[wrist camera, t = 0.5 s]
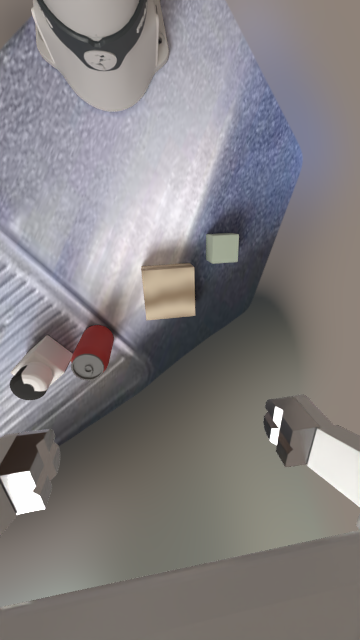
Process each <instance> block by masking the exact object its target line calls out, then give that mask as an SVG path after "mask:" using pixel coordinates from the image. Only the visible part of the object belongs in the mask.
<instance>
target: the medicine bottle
mask: <svg viewBox="0 0 360 640" xmlns="http://www.w3.org/2000/svg"><path fill="white" fill-rule="evenodd" d="M72 355H73V354H72V353H71V352H70V351H68V350H67V349H66V348H64V347H63V346H62V345H60V344H59V343H58V342H56V341H55V340H54V339H52V338H51V337H50V336H48V335H46V336H45V337H44V338H43V339H42V340H41V341H40V342H39V343H37V344H36V345H35V346H34V347H33V348H32V349H31V350H30V351H29V352H28V353H27V354H26V355H25V356H24V357H23V358H22V360H21V361H20V362H19V363H18V364H17V365H16V367H15V368H14V369H13V370H12V371H11V374H12V375H14V377H13V378H12V379H11V381H10V388H11V390H12V392H13V393H14V394H15V395H16V396H17V397H19V398H21V399H24V400H35V399H38V398H41V397H42V396H43V395H44V394H45V393H46V391H47V389H48V387H49V386H50V385H51V384H52V383H53V382H55V381H56V380H57V379H58V378H59V377H60V376H61V375H63V374H64V373H65V371H66V369H67V367H68V365H69V363H70V361H71V358H72Z"/></svg>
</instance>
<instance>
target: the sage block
mask: <svg viewBox="0 0 360 640" xmlns="http://www.w3.org/2000/svg"><path fill="white" fill-rule="evenodd" d="M238 245H239V234H233V233H220V234H206V260H208V261H209V262H211V263H212V264H213V263H227V262H238Z"/></svg>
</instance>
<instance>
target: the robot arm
mask: <svg viewBox="0 0 360 640" xmlns="http://www.w3.org/2000/svg"><path fill="white" fill-rule="evenodd" d="M31 11H32V15H33V18H34V20H35V24H36V43H37V48H38V50H39V52H40V54H41V56H42V57H43V58H44V59H45V60H46V61H47V62H48V63H49V64H50V65H52V66H53V67H54V68H56V69H57V70H59V71H60V73H61V74H62V75H63V76H64V78H65V79H66V81H67V82H68V84H69V85H70V86H71V88H72V89H73V90H74V91H75V93H76V94H77V95H78V96H79V97H80V98H82V99H83V100H84V101H85V102H87V103H88V104H90V105H91V106H93V107H95V108H98V109H100V110H104V111H110V112H116V111H122V110H125V109H128V108H130V107H132V106H133V105H135V104H136V103H137V102H138V101H139V100H140V99H141V98H142V97H143V95H144V94H145V92H146V90H147V89H148V86H149V84H150V82H151V80H152V78H153V76H154V74H155V73H156V72H157V71H158V70H159V69H161V68H162V67H163V66H164V65H165V63H166V62H167V60H168V57H169V49H168V43H167V37H166V32H165V27H164V21H163V16H162V11H161V5H160V0H33V7H32V9H31ZM158 39H159V40H160V41H161V44H158ZM265 408H266V409H267V411H268V412H267V413H266V414H265V416H264V421H263V423H264V429H265V432H266V435H267V436H268V438H269V440H270V441H271V442H272V443H274V444H275V445H277V446H276V452H277V454H278V456H279V458H280V459H281V461H282V463H283V464H284V466H285V467H291V466H298V465H305V464H307V466H308V467H310V468H311V469H312V470H313V471H315V472H316V473H317V474H319V475H320V476H321V477H322V478H323V479H325V480H326V481H327V482H329V483H330V484H331V485H332V486H334V487H335V488H336V489H337V490H339V491H340V492H341V493H343V494H344V495H345V496H347V497H348V498H349V499H350V500H351V501H353V502H354V503H355V504H356V505H358V506H359V507H360V436H359V435H357V434H355V433H353V432H351V431H349V430H347V429H345V428H343V427H341V426H339V425H333V424H332V423H331V421H330V420H329V419H328V418H327V417H326V416H325V415H324V414H323V413H322V412H321V411H320V410H319V409H318V408H317V407H316V406H315V404H314V403H313V402H312V401H311V400H310V399H309V398H308V397H307V396H306V395H296V396H291V397H282V398H276V399H269V400H267V402H266V405H265ZM54 438H55V435H54V432H53V430H51V429H47V430H38V431H29V432H21V433H13V434H5V435H4V436H3V437H1V438H0V536H1V535H2V534H3V532H4V531H5V530H6V529H7V527H8V526H9V525H10V524H11V523H12V521H13V520H14V519H15V518H16V517H17V515H16V514H21V513H26V512H31V511H36V510H41V509H45V507H46V504H47V502H48V498H49V496H50V493H51V490H52V485H51V482H50V481H51V479H52V478H54V477H55V475H56V474H57V472H58V468H59V464H60V449H59V446H58V445H57V444H55V443H54V442H53V441H54ZM356 525H357V527H358V528H359V529H360V515H359V517H358V519H357V524H356ZM0 640H360V530H359V531H354V532H349V533H344V534H340V535H335V536H331V537H326V538H321V539H316V540H312V541H308V542H302V543H298V544H294V545H288V546H284V547H279V548H274V549H270V550H265V551H260V552H256V553H251V554H247V555H242V556H237V557H232V558H228V559H223V560H218V561H214V562H209V563H204V564H199V565H195V566H191V567H185V568H181V569H176V570H171V571H167V572H162V573H158V574H153V575H148V576H143V577H139V578H134V579H130V580H125V581H120V582H115V583H111V584H106V585H102V586H97V587H92V588H87V589H83V590H78V591H73V592H69V593H64V594H59V595H55V596H50V597H45V598H41V599H36V600H32V601H27V602H22V603H17V604H13V605H8V606H4V607H0Z"/></svg>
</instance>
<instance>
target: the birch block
mask: <svg viewBox="0 0 360 640" xmlns="http://www.w3.org/2000/svg"><path fill="white" fill-rule="evenodd" d="M141 271H142V281H143V290H144V300H145V309H146V319H147V320H155V319H165V318H176V317H187V316H195V280H194V266H192V265H191V264H190V263H183V264H168V265H154V266H142V269H141Z"/></svg>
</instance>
